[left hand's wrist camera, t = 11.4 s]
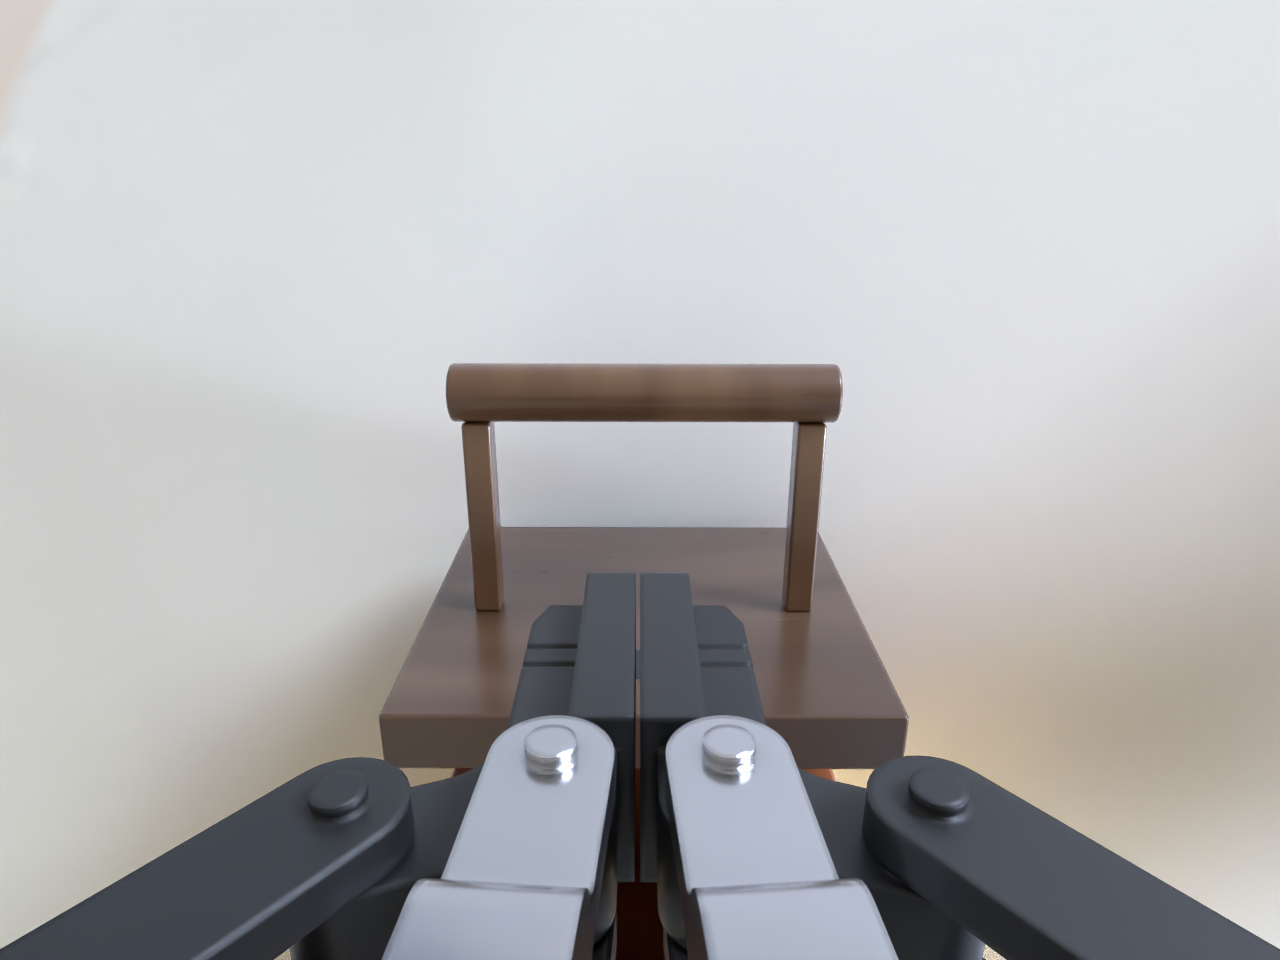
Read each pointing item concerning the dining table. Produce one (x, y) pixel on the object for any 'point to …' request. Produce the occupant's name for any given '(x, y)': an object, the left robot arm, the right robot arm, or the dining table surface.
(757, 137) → the dining table surface
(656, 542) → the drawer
